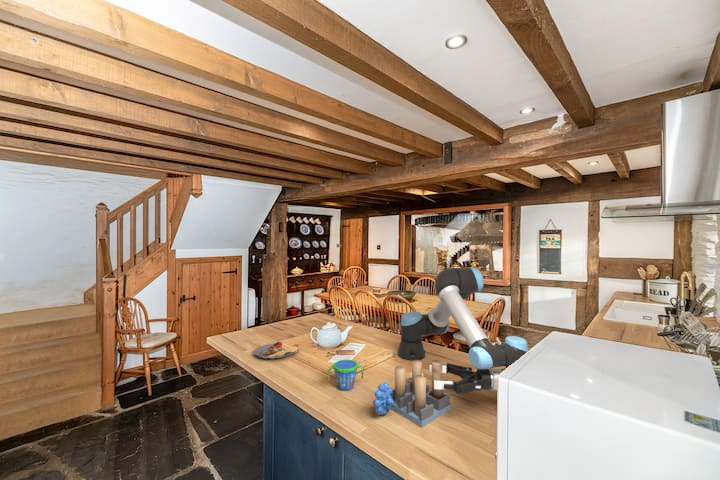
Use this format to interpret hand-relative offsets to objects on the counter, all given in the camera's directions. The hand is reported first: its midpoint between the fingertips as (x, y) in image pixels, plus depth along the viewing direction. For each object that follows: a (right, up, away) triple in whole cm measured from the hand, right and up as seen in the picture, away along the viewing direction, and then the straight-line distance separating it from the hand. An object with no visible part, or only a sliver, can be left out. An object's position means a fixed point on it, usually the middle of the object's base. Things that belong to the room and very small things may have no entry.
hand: (431, 376), depth 115 cm
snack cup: (-34, -13, +17) cm, 40 cm away
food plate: (-75, -13, +57) cm, 95 cm away
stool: (-5, -13, +1) cm, 14 cm away
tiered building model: (-3, -13, +18) cm, 22 cm away
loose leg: (+2, -11, 0) cm, 11 cm away
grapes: (-18, -13, -4) cm, 23 cm away
